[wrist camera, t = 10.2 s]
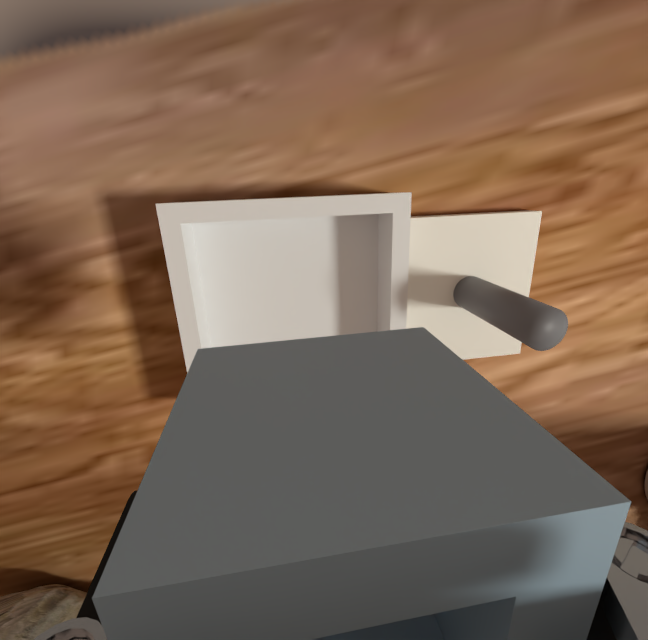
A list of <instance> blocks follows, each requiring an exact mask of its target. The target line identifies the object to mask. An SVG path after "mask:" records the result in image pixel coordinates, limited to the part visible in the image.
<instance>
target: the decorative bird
mask: <svg viewBox="0 0 648 640" xmlns="http://www.w3.org/2000/svg"><path fill="white" fill-rule="evenodd" d="M86 594H87V593H86V592H83V591H80V590H77V589H74V588H71V587H68V586H65V585H59V584H52V585H46V586H40V587H36V588H33V589H30V590H27V591H23V592H17V593H12V594H8V595H5V596H1V597H0V640H34V639H35V638H36V637H37V636H38V635H40V634H41V633H43V632H45V631H46V630H48V629H50V628H51V627H53V626H54V625H56V624H59V623H62V622H64V621H67V620H70V619H73V618H76V617H77V615H78V613H79V610H80V608H81V606H82V604H83V601H84V599H85V597H86Z"/></svg>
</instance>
